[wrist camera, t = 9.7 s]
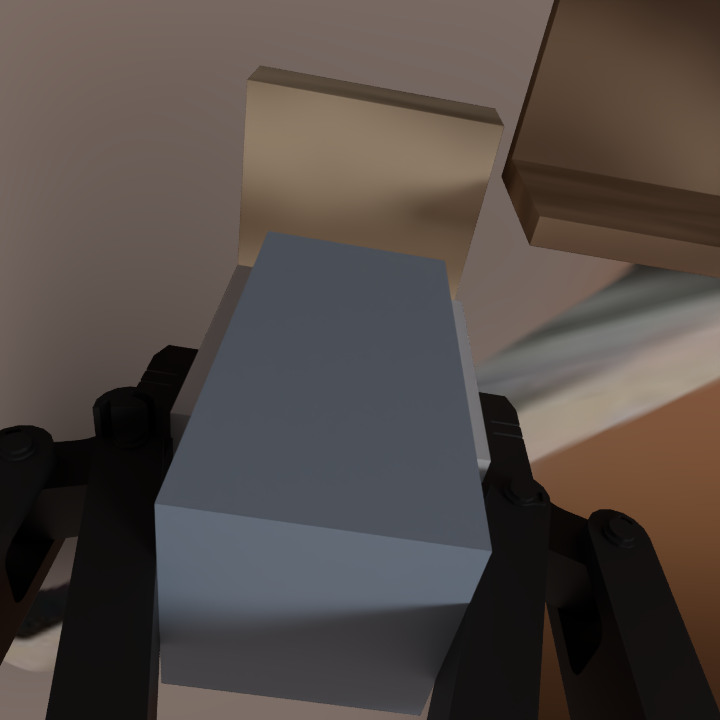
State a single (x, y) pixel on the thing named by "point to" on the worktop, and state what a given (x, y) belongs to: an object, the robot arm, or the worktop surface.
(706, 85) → the open wooden box
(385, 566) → the block
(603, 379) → the worktop surface
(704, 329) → the worktop surface
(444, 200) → the stand
